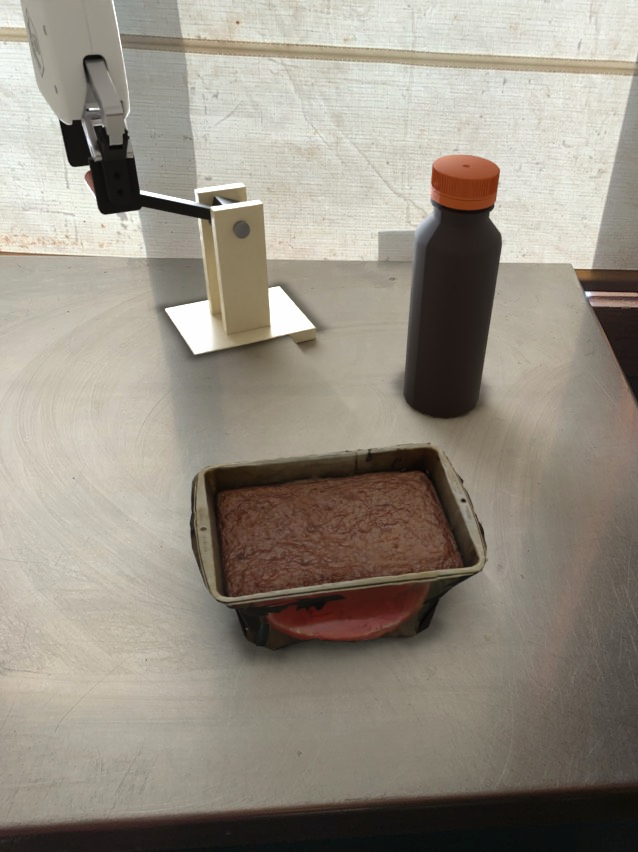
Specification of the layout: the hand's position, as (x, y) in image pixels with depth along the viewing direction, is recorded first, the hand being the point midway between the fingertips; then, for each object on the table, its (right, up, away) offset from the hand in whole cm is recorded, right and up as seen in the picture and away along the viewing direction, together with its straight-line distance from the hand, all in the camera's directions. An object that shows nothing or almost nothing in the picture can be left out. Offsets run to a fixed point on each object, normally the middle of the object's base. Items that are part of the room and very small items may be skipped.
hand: (104, 186), depth 63 cm
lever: (+4, -1, +4) cm, 6 cm away
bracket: (+8, -8, +14) cm, 18 cm away
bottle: (+27, -16, +8) cm, 32 cm away
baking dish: (+19, -31, -9) cm, 38 cm away
